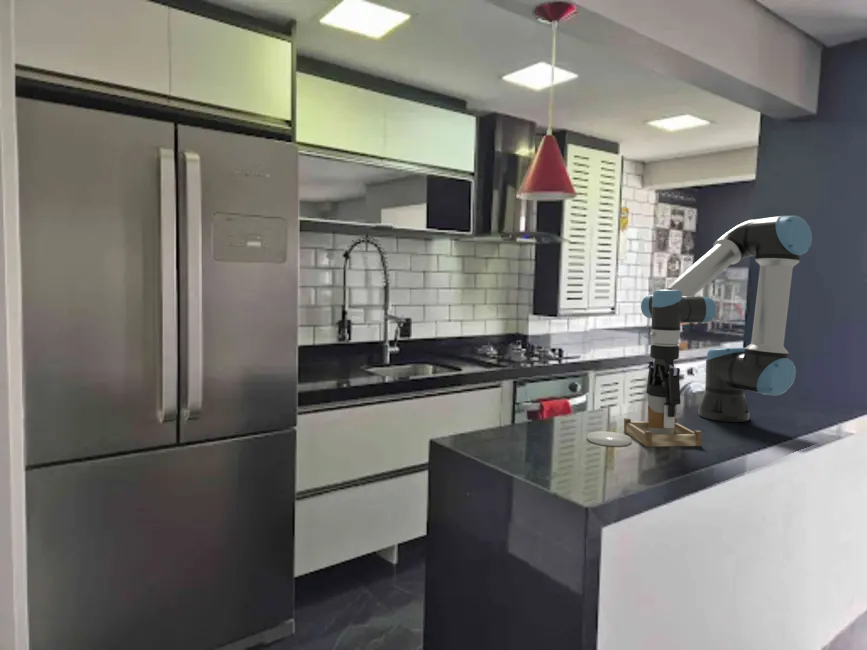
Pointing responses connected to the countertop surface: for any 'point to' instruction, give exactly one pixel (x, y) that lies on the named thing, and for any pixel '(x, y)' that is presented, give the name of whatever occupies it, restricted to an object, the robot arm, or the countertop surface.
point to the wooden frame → (645, 436)
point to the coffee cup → (657, 410)
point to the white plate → (609, 438)
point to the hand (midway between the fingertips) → (661, 423)
